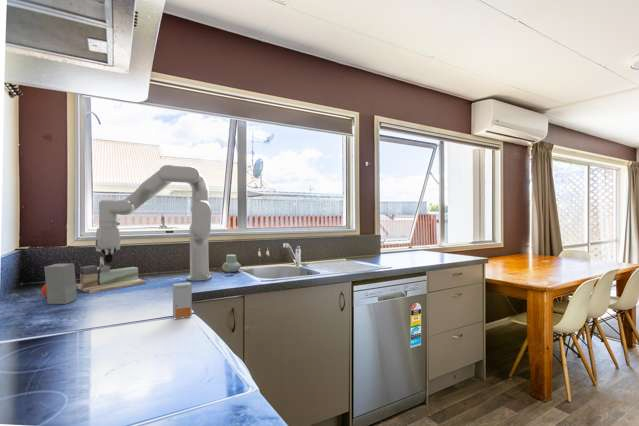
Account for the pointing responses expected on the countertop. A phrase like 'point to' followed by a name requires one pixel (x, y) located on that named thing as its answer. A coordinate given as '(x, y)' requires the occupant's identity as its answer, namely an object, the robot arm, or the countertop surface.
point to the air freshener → (231, 264)
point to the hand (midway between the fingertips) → (108, 262)
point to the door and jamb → (107, 278)
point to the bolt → (101, 263)
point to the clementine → (44, 290)
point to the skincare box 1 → (60, 283)
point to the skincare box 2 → (182, 300)
